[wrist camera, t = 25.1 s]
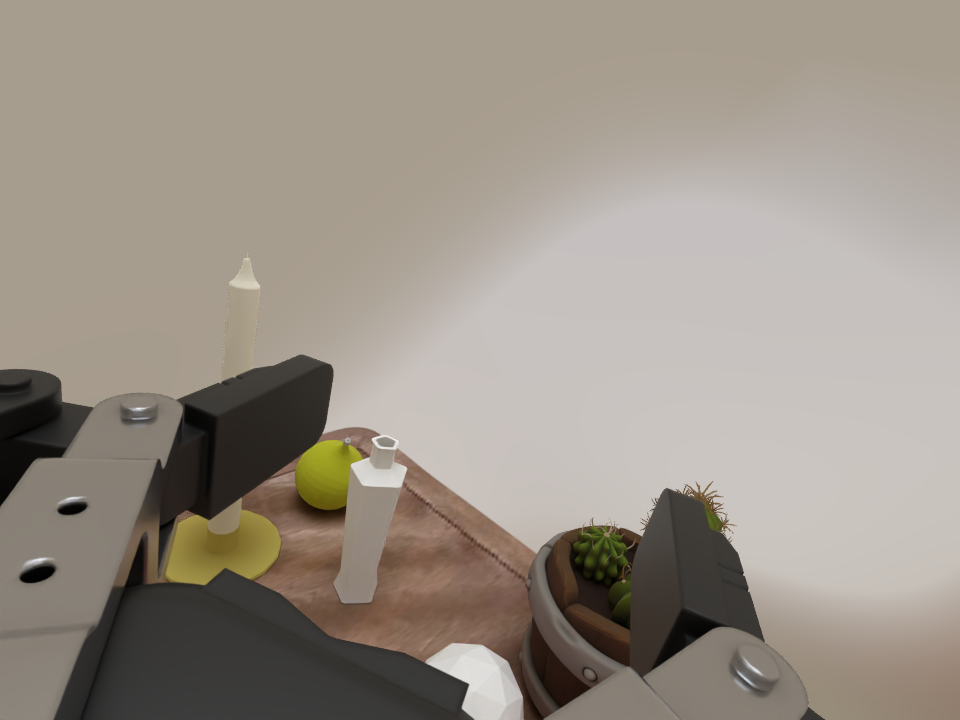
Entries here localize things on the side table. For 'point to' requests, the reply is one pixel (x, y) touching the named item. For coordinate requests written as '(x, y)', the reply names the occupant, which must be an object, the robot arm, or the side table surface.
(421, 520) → the side table surface
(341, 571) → the perfume bottle
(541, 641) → the flowerpot
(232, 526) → the candle
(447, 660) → the geometric ball
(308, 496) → the ornament
